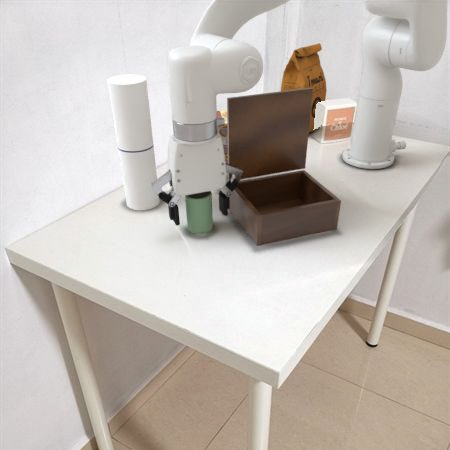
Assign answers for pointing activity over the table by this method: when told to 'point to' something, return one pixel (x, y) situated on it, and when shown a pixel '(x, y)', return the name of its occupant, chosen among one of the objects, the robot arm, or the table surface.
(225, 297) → the table surface
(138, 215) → the table surface
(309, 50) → the coffee package
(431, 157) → the table surface
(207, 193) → the pencil cup
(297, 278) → the table surface
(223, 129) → the candy box
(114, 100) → the cylindrical container
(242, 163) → the chest lid
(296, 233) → the chest
